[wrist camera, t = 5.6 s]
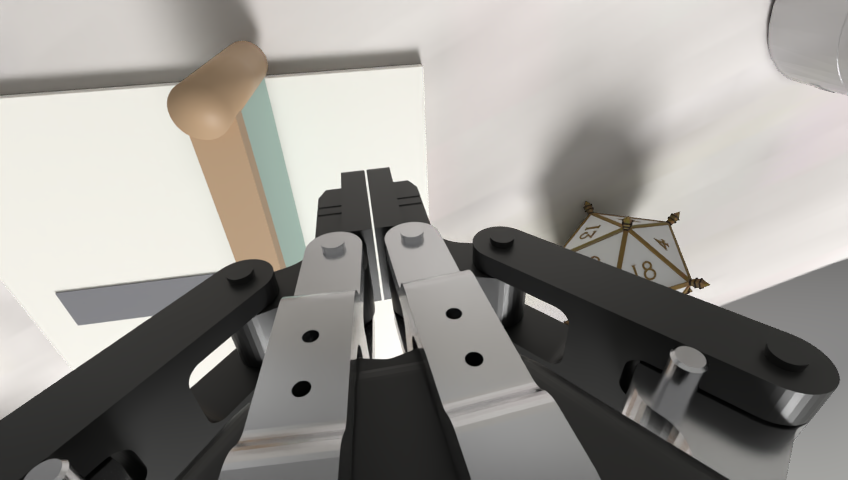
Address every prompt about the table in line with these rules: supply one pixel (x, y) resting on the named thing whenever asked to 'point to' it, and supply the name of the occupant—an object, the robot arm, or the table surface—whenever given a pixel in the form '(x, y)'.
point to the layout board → (173, 195)
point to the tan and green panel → (241, 154)
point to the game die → (635, 248)
